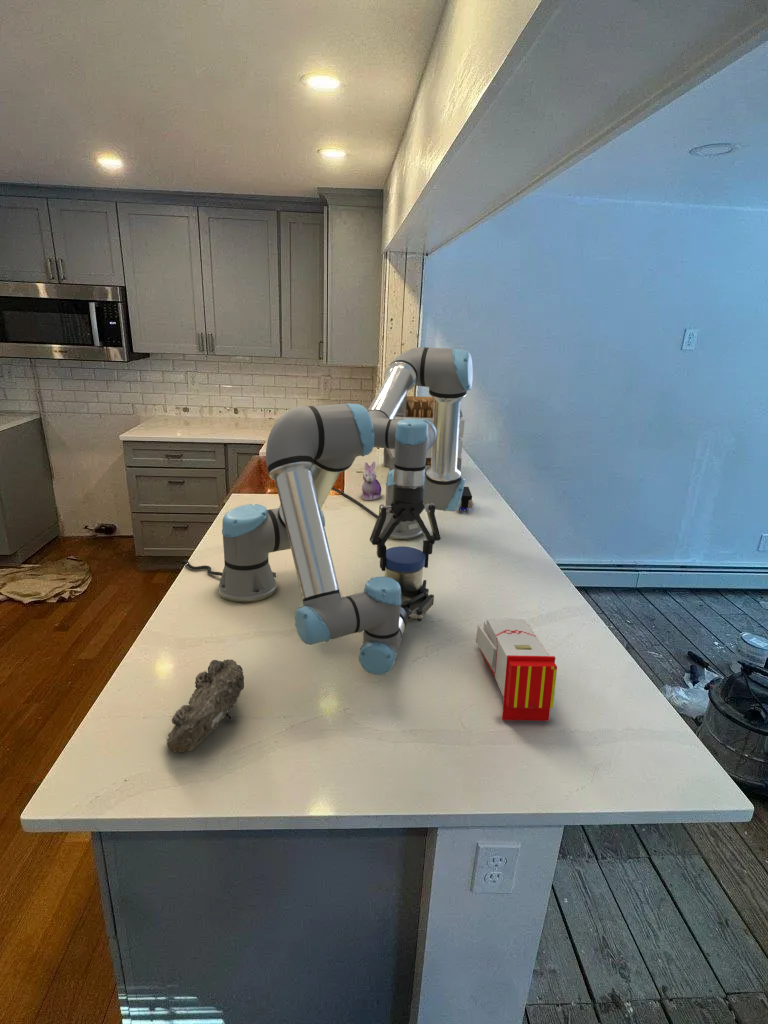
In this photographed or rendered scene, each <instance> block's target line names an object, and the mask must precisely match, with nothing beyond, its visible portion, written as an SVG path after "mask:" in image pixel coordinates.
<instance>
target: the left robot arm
mask: <svg viewBox="0 0 768 1024" xmlns="http://www.w3.org/2000/svg"><path fill="white" fill-rule="evenodd" d="M367 410H368V409H367V408H366V407H365V406H364V405H362V404H359V403H348V402H345V403H335V404H334V403H333V404H319V405H318V404H317V405H299V406H295V407H292V408H290V409H287V410H286V411H285V412H284V413H282V414H281V415H280V416H279V417H278V419H276V420H275V422H274V424H273V426H272V428H271V430H270V432H269V434H268V437H267V442H266V446H265V464H266V468H267V472H268V476H269V478H270V479H272V480H274V483H275V485H276V490H277V494H278V499H279V503H280V505H279V506H278V507H276V508H270V509H267V507H266V506H264V505H262V504H258V503H256V504H251V503H250V504H243V505H239V506H236V507H234V508H232V509H230V510H228V511H227V512H226V513H225V514H224V515H223V517H222V529H221V534H222V543H223V546H222V547H223V559H224V568H223V570H222V572H221V571H213V570H212V567H211V566H210V565H198V566H194V565H192V564H191V563H190V562H189V560H187V559H183V560H182V561H181V562H180V564H182V565H184V564H185V565H186V564H187V563H188V564H187V565H186V566H187V567H188V568H189V569H190V570H193V571H197V570H207V574H209V575H211V576H219V577H220V581H219V583H218V593H219V596H220V597H221V598H223V599H224V600H226V601H229V602H233V603H239V604H240V603H242V604H246V603H247V604H248V603H255V602H259V601H263V600H266V599H268V598H269V597H271V596H273V594H274V593H275V592H276V590H277V581H276V578H277V573H276V571H275V572H274V571H273V570H272V567H271V566H270V562H269V554H271V553H275V552H281V551H286V550H291V551H290V552H291V554H292V559H293V563H294V567H295V572H296V576H297V581H298V585H299V590H300V594H301V597H302V603H303V605H302V606H300V607H298V608H297V609H296V611H295V614H294V620H295V623H294V625H295V630H296V632H297V635H298V637H299V639H300V640H301V641H302V642H303V644H305V645H309V646H312V645H315V644H320V643H327V642H330V641H331V640H335V639H340V638H343V637H345V636H349V635H353V634H357V633H361V632H363V640H362V645H361V647H360V648H359V653H358V662H359V664H360V666H361V668H362V669H363V670H364V671H365V672H367V673H368V674H371V675H374V676H383V675H386V674H387V673H389V672H390V671H391V670H392V669H393V667H394V665H395V663H396V661H397V656H398V653H399V649H400V646H401V642H402V639H403V638H404V637H403V636H404V633H405V631H406V628H407V625H408V621H410V620H409V619H410V618H411V617H413V618H415V619H416V621H417V622H422V621H423V617H424V616H425V614H426V613H427V612H428V611H429V610H430V609H431V608H433V606H434V603H435V601H434V600H435V595H434V594H429V593H430V592H429V591H430V589H429V588H427V580H426V579H422V587H421V590H420V595H418V596H416V597H414V598H412V599H411V600H409V601H408V600H406V601H404V602H402V603H401V587H400V584H399V583H398V582H397V581H395V580H394V579H392V578H389V577H384V576H373V577H371V578H370V579H368V580H367V581H366V582H365V585H364V588H363V592H360V593H355V594H350V595H347V596H344V597H342V595H341V591H340V587H339V583H338V578H337V574H336V571H335V565H334V561H333V557H332V554H331V549H330V545H329V541H328V538H327V532H326V529H325V527H326V520H325V516H324V515H325V514H324V512H323V510H322V508H323V506H324V504H325V502H326V500H327V499H328V496H329V495H330V493H331V491H332V490H333V489H332V487H334V485H335V483H336V482H337V479H338V478H339V476H340V474H341V473H343V472H345V471H347V470H349V469H350V468H351V467H352V465H353V463H354V462H355V460H356V458H357V457H366V456H368V455H370V454H371V453H372V452H373V449H374V448H375V447H374V427H373V423H372V420H371V417H370V415H369V413H368V411H367ZM415 609H416V610H415ZM413 610H415V611H414V612H411V611H413Z"/></svg>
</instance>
